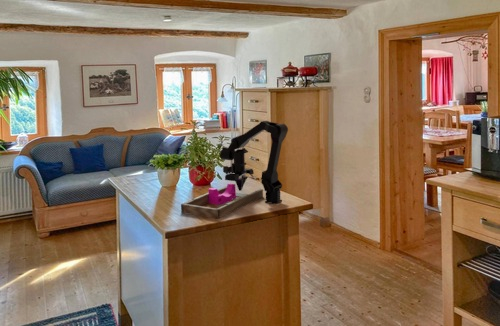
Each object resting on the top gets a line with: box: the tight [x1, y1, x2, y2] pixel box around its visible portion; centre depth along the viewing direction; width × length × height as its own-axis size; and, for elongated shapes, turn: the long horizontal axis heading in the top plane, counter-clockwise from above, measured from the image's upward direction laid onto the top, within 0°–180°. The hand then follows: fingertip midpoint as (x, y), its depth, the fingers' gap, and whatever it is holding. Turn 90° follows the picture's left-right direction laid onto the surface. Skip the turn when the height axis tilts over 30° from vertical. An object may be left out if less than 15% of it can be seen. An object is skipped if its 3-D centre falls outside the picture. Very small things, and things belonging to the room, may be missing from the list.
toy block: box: [207, 182, 237, 206], centre depth 229 cm, size 15×6×8 cm, turn 135°
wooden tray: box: [180, 185, 264, 220], centre depth 223 cm, size 21×40×4 cm, turn 149°
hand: (240, 190), depth 235 cm, fingers closed
